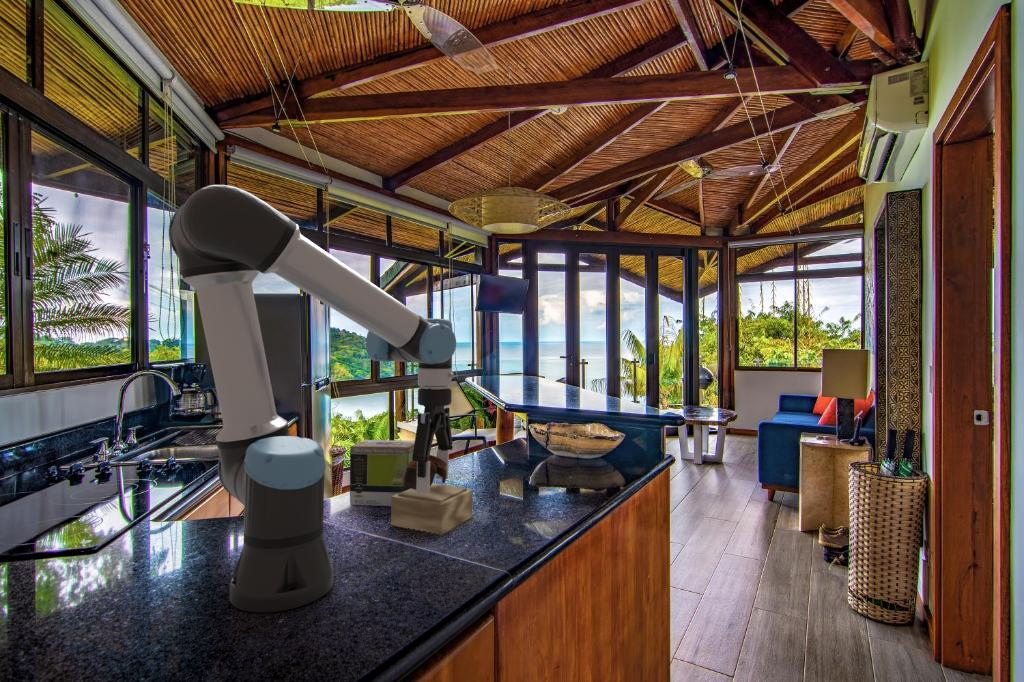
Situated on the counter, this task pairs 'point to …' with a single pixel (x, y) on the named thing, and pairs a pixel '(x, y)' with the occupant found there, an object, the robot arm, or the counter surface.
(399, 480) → the tea box
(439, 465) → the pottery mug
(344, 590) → the counter surface
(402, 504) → the wooden box
